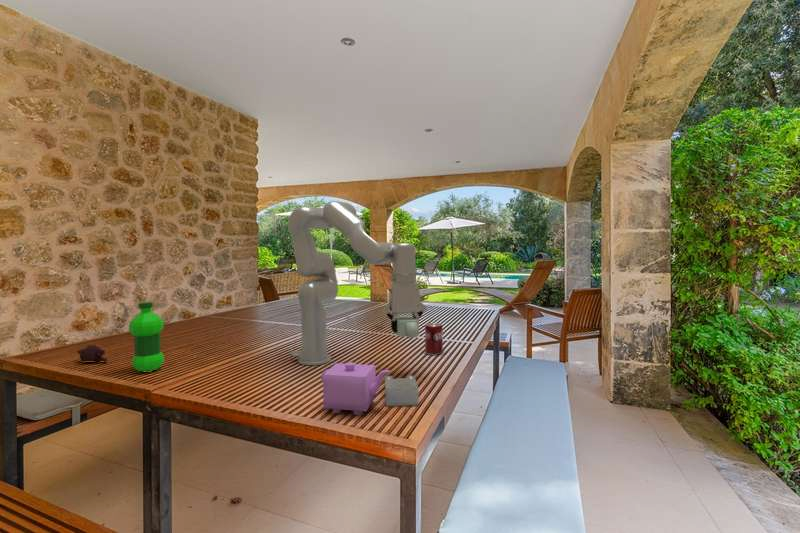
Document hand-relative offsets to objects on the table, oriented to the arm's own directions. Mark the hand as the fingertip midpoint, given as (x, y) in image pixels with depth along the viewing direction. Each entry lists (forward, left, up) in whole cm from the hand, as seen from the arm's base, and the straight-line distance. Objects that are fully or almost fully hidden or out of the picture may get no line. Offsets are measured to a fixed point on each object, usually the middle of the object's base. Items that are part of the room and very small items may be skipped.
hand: (404, 330), depth 132 cm
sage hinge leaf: (+1, -2, -1) cm, 2 cm away
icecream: (-122, +27, -16) cm, 126 cm away
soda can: (+14, +26, -16) cm, 34 cm away
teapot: (-16, -25, -16) cm, 34 cm away
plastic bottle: (-93, +14, -16) cm, 95 cm away
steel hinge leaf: (-3, -19, -16) cm, 25 cm away
